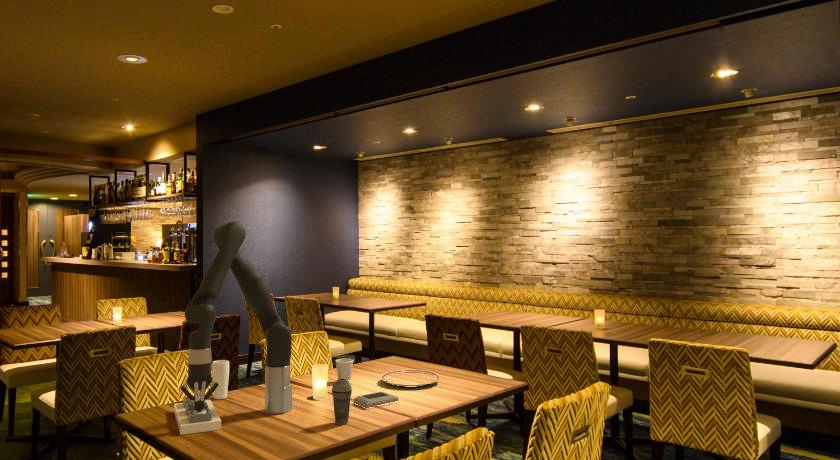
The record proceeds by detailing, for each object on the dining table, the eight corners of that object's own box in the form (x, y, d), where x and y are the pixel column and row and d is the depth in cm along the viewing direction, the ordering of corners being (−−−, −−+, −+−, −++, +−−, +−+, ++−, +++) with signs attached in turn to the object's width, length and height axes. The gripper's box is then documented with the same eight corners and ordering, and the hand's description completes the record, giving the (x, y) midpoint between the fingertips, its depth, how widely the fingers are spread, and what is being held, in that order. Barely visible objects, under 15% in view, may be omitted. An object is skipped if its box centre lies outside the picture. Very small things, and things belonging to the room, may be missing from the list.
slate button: (189, 406, 213) (189, 399, 213) (202, 405, 215) (202, 398, 215) (190, 410, 209) (190, 403, 209) (204, 408, 211) (204, 401, 211)
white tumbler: (223, 400, 238) (223, 363, 238) (208, 399, 239) (208, 362, 240) (232, 396, 245) (232, 360, 245) (217, 395, 246) (217, 359, 246)
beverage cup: (343, 427, 204) (343, 369, 204) (327, 423, 208) (327, 367, 208) (356, 422, 210) (356, 365, 211) (340, 418, 214) (340, 363, 214)
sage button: (191, 417, 204) (191, 410, 204) (205, 416, 206) (205, 408, 206) (193, 421, 200) (193, 414, 200) (207, 419, 202) (207, 412, 202)
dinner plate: (441, 390, 255) (441, 383, 256) (378, 390, 256) (378, 382, 256) (439, 376, 283) (439, 369, 283) (383, 376, 283) (383, 369, 283)
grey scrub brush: (398, 394, 235) (366, 401, 226) (398, 404, 235) (366, 410, 226) (384, 390, 243) (353, 395, 234) (384, 399, 243) (353, 405, 233)
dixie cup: (346, 379, 276) (346, 357, 276) (357, 382, 270) (357, 360, 270) (331, 381, 271) (331, 360, 271) (342, 385, 264) (342, 362, 265)
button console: (174, 411, 222) (174, 397, 223) (210, 407, 228) (210, 393, 228) (180, 435, 196) (180, 418, 196) (221, 429, 201) (221, 413, 201)
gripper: (218, 357, 210) (217, 406, 209) (178, 360, 204) (177, 410, 204) (221, 361, 203) (220, 411, 203) (180, 364, 197) (179, 416, 197)
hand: (199, 411), depth 203 cm, fingers closed
